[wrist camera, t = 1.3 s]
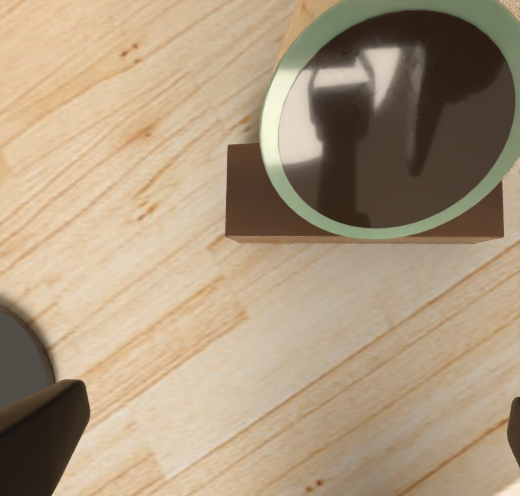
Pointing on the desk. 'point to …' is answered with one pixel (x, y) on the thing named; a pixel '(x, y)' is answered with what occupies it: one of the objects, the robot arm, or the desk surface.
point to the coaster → (20, 361)
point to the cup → (392, 112)
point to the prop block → (301, 231)
